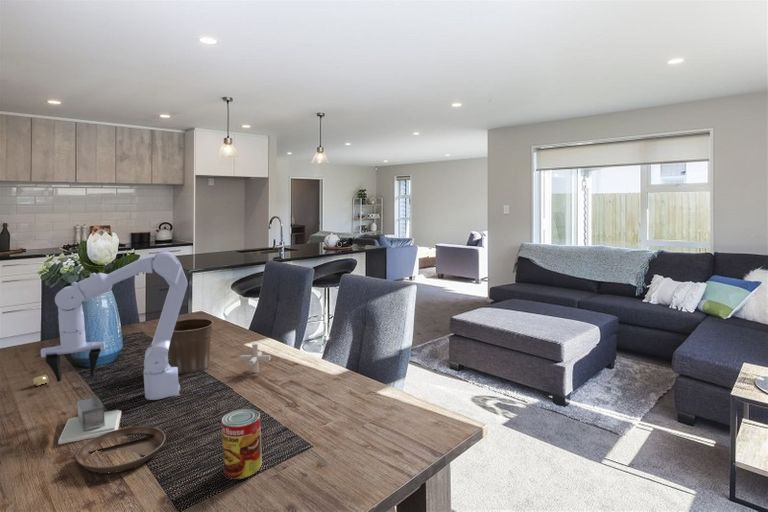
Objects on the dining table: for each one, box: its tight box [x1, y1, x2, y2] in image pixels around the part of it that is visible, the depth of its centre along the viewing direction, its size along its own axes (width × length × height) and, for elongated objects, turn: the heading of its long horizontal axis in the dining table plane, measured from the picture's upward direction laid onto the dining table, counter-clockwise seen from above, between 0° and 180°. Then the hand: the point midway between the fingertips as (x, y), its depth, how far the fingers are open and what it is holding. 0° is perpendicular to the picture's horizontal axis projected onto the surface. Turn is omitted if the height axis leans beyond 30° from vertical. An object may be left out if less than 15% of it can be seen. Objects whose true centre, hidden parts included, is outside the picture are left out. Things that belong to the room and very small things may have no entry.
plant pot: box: [168, 318, 214, 375], centre depth 158 cm, size 16×16×16 cm
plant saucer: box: [75, 425, 166, 474], centre depth 103 cm, size 18×18×3 cm
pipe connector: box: [239, 342, 272, 374], centre depth 154 cm, size 10×10×10 cm
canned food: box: [221, 408, 263, 478], centre depth 97 cm, size 8×8×12 cm
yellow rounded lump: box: [32, 374, 50, 386], centre depth 144 cm, size 3×3×3 cm
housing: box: [76, 396, 105, 431], centre depth 113 cm, size 9×4×5 cm, turn 42°
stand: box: [57, 409, 122, 445], centre depth 114 cm, size 12×12×2 cm
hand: (76, 377), depth 124 cm, fingers open, 7 cm apart
